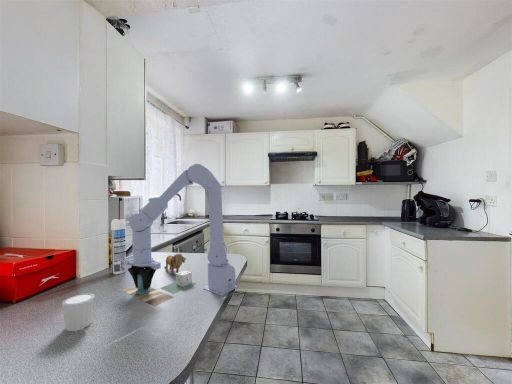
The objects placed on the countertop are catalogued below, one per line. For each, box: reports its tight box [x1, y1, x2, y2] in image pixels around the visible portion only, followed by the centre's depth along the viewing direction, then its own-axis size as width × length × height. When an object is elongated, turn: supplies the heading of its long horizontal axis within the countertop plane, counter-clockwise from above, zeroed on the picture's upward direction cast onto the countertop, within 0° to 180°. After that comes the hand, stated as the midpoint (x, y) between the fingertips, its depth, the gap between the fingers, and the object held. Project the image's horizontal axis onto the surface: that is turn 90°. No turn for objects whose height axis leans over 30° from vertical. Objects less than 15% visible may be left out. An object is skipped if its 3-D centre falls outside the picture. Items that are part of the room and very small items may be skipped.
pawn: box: [136, 274, 150, 295], centre depth 81 cm, size 4×4×6 cm
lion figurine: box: [164, 253, 187, 276], centre depth 101 cm, size 15×5×9 cm, turn 49°
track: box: [121, 285, 175, 307], centre depth 80 cm, size 20×7×1 cm, turn 54°
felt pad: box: [160, 281, 197, 295], centre depth 86 cm, size 8×10×1 cm
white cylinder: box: [61, 293, 96, 332], centre depth 62 cm, size 7×7×7 cm
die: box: [175, 270, 193, 287], centre depth 88 cm, size 4×4×4 cm
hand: (143, 287), depth 82 cm, fingers closed on pawn, 3 cm apart
